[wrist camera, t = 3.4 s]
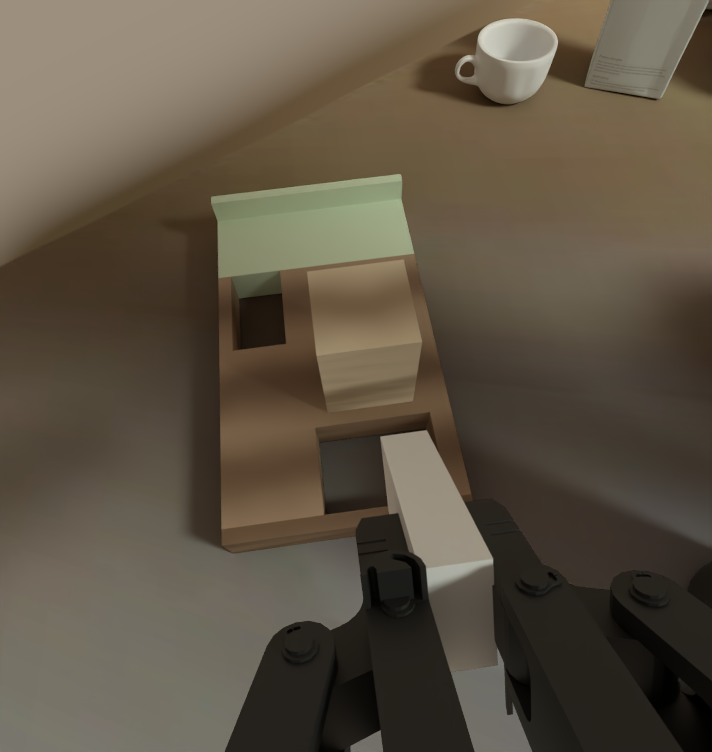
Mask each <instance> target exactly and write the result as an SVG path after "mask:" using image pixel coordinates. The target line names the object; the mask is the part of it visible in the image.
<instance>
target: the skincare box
mask: <svg viewBox="0 0 712 752" xmlns="http://www.w3.org/2000/svg"><path fill="white" fill-rule="evenodd" d="M708 2H709V0H611V2H610V5H609V8H608V11H607V14H606V17H605V20H604V23H603V26H602V29H601V32H600V35H599V38H598V40H597V43H596V46H595V49H594V52H593V55H592V59H591V62H590V66H589V70H588V73H587V77H586V81H585V85H584V87H588V88H595V89H601V90H607V91H614V92H620V93H626V94H632V95H638V96H644V97H650V98H656V99H661V97H662V96H663V94H664V92H665V90H666V88H667V86H668V84H669V81H670V79H671V77H672V75H673V73H674V71H675V69H676V67H677V65H678V63H679V61H680V59H681V57H682V55H683V53H684V51H685V49H686V47H687V45H688V43H689V41H690V39H691V37H692V35H693V33H694V30H695V28H696V26H697V24H698V22H699V20H700V18H701V16H702V14H703V12H704V10H705V8H706V6H707V4H708Z"/></svg>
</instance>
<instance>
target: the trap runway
mask: <svg viewBox="0 0 712 752" xmlns="http://www.w3.org/2000/svg"><path fill="white" fill-rule="evenodd" d="M396 260H404V263H405V268H406V272H407V277H408V281H409V285H410V290H411V294H412V299H413V303H414V308H415V312H416V317H417V321H418V325H419V330H420V334H421V339H422V346H421V353H420V359H419V365H418V372H417V378H416V385H415V391H414V397H413V401H412V402H404V403H397V404H389V405H382V406H374V407H367V408H360V409H352V410H345V411H337V412H330V413H328V411H327V406H326V401H325V396H324V391H323V386H322V381H321V376H320V371H319V366H318V361H317V356H316V347H315V338H314V329H313V321H312V312H311V303H310V294H309V285H308V276H307V272H308V271H316V270H324V269H332V268H340V267H348V266H356V265H364V264H372V263H380V262H388V261H396ZM280 275H281V288H282V300H283V312H284V324H285V336H286V344H281V345H273V346H265V347H258V348H250V349H242V350H241V334H240V305H239V297H238V294H237V291H236V289H235V286H234V284H233V281H232V279H231V277H223V278H218V290H219V370H220V450H221V531H222V546H223V547H224V548H226V549H227V550H229V551H230V552H232V553H240V552H247V551H254V550H261V549H268V548H275V547H282V546H289V545H296V544H303V543H310V542H317V541H324V540H331V539H338V538H345V537H352V536H356V532H355V530H356V528H357V526H358V524H359V522H360V520H361V518H367V517H374V516H381V515H388V514H389V511H388V506H384V507H377V508H370V509H363V510H355V511H348V512H341V513H334V514H327V513H326V503H325V494H324V484H323V475H322V465H321V456H320V447H319V443H321V442H328V441H336V440H343V439H350V438H358V437H365V436H372V435H380V434H387V433H394V432H402V431H409V430H416V429H424V428H426V430H427V432H428V434H429V436H430V438H431V440H432V441H433V443H434V445H435V447H436V449H437V451H438V453H439V455H440V457H441V459H442V461H443V463H444V465H445V467H446V469H447V470H448V472H449V474H450V476H451V478H452V480H453V482H454V484H455V486H456V488H457V490H458V492H459V494H460V496H461V498H462V499H463V501H464V502H470V501H473V498H472V494H471V490H470V486H469V481H468V477H467V473H466V469H465V465H464V461H463V456H462V452H461V448H460V444H459V440H458V435H457V431H456V427H455V423H454V419H453V414H452V410H451V406H450V402H449V398H448V393H447V389H446V385H445V381H444V377H443V372H442V368H441V364H440V360H439V356H438V351H437V347H436V343H435V339H434V335H433V330H432V326H431V322H430V318H429V314H428V309H427V305H426V301H425V297H424V293H423V288H422V284H421V280H420V276H419V272H418V267H417V263H416V259H415V255H414V254H408V255H400V256H392V257H384V258H376V259H368V260H360V261H352V262H344V263H336V264H328V265H320V266H312V267H304V268H296V269H288V270H280Z"/></svg>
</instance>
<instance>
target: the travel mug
mask: <svg viewBox="0 0 712 752" xmlns="http://www.w3.org/2000/svg"><path fill="white" fill-rule="evenodd" d="M688 592H689V593H690V594H692V595H693V596H694V597H696V598H697V599H699V600H700V601H701V602H703V603H704V604H706V605H707V606H708V607H710V608H711V609H712V562H711V563H709V564H707V565H705V566H704V567H703V568H701V569H700V570H699V571H698V572H697V573H696V574H695V576H694V577H693V579H692V580H691V583H690V585H689V588H688Z"/></svg>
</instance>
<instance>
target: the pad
mask: <svg viewBox="0 0 712 752" xmlns="http://www.w3.org/2000/svg"><path fill="white" fill-rule="evenodd" d="M401 193H402V178H401V174H397V175H389V176H380V177H372V178H364V179H355V180H347V181H338V182H330V183H322V184H313V185H305V186H297V187H288V188H280V189H272V190H263V191H255V192H247V193H238V194H230V195H221V196H213V197H211V205H212V207H213V210H214V213H215V215H216V218H217V221H218V278H223V277H231V279H232V281H233V284H234V286H235V289H236V291H237V294H238V297H239V299H240V298H248V297H256V296H264V295H272V294H280V293H282V288H281V275H280V270H288V269H296V268H304V267H312V266H320V265H328V264H336V263H344V262H352V261H360V260H368V259H376V258H384V257H392V256H400V255H408V254H414V251H413V247H412V242H411V238H410V234H409V230H408V226H407V221H406V217H405V213H404V209H403V205H402V200H401Z"/></svg>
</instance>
